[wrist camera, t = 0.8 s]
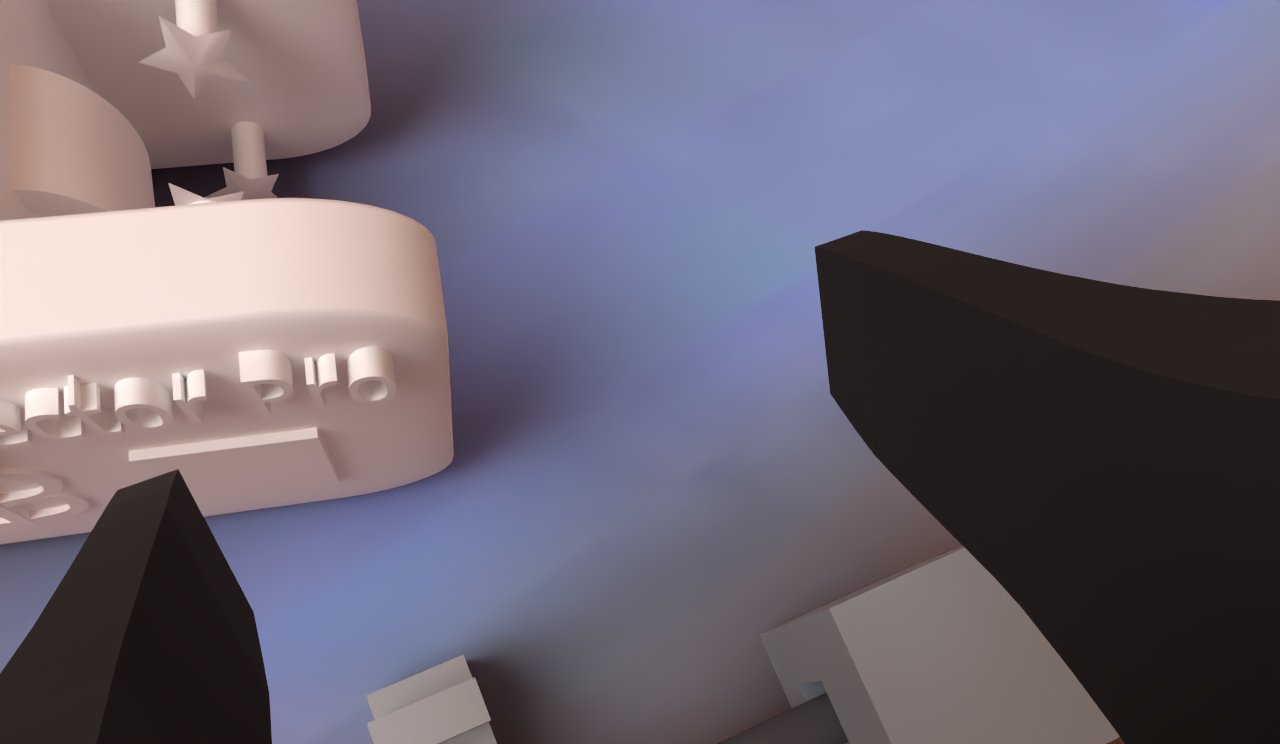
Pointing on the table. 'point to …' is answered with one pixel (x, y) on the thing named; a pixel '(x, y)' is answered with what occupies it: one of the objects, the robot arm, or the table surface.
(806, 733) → the dark grey rod
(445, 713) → the cable comb
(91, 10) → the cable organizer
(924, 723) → the grey slotted cube
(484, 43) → the table surface
